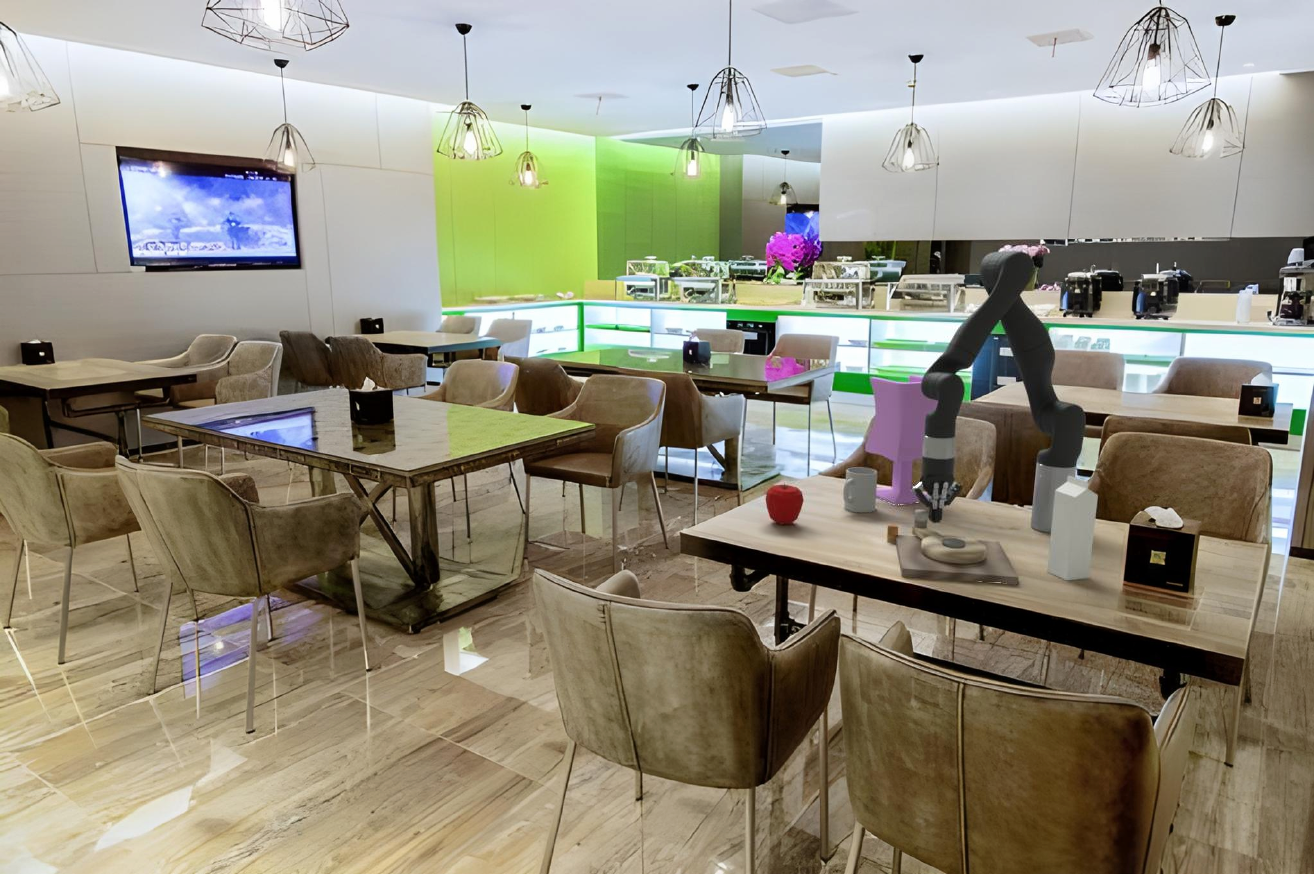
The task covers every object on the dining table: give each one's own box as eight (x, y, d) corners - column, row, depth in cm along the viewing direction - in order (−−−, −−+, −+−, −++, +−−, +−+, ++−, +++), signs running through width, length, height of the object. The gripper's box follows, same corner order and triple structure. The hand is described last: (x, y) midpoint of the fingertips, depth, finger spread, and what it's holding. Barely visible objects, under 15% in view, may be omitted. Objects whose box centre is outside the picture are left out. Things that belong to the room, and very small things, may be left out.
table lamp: (906, 488, 258) (913, 374, 251) (940, 501, 244) (949, 381, 237) (862, 493, 253) (869, 376, 246) (894, 507, 239) (902, 384, 232)
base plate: (996, 546, 206) (998, 530, 205) (1017, 585, 181) (1019, 567, 181) (886, 538, 211) (887, 523, 211) (892, 575, 187) (893, 558, 186)
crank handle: (998, 560, 190) (1000, 535, 189) (943, 566, 186) (945, 540, 185) (941, 530, 211) (943, 507, 210) (891, 534, 208) (892, 511, 207)
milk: (1066, 581, 184) (1076, 483, 179) (1046, 571, 190) (1055, 476, 185) (1089, 578, 186) (1100, 480, 181) (1068, 568, 191) (1078, 474, 187)
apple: (764, 527, 220) (765, 487, 217) (764, 517, 229) (766, 478, 227) (803, 529, 218) (804, 488, 216) (801, 518, 228) (803, 479, 225)
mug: (855, 502, 243) (857, 465, 241) (881, 508, 237) (883, 470, 235) (830, 510, 235) (832, 472, 233) (857, 517, 229) (859, 478, 227)
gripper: (955, 448, 209) (951, 515, 213) (906, 451, 207) (902, 519, 211) (972, 455, 202) (967, 524, 206) (920, 459, 200) (917, 529, 204)
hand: (934, 522), depth 208 cm, fingers closed
